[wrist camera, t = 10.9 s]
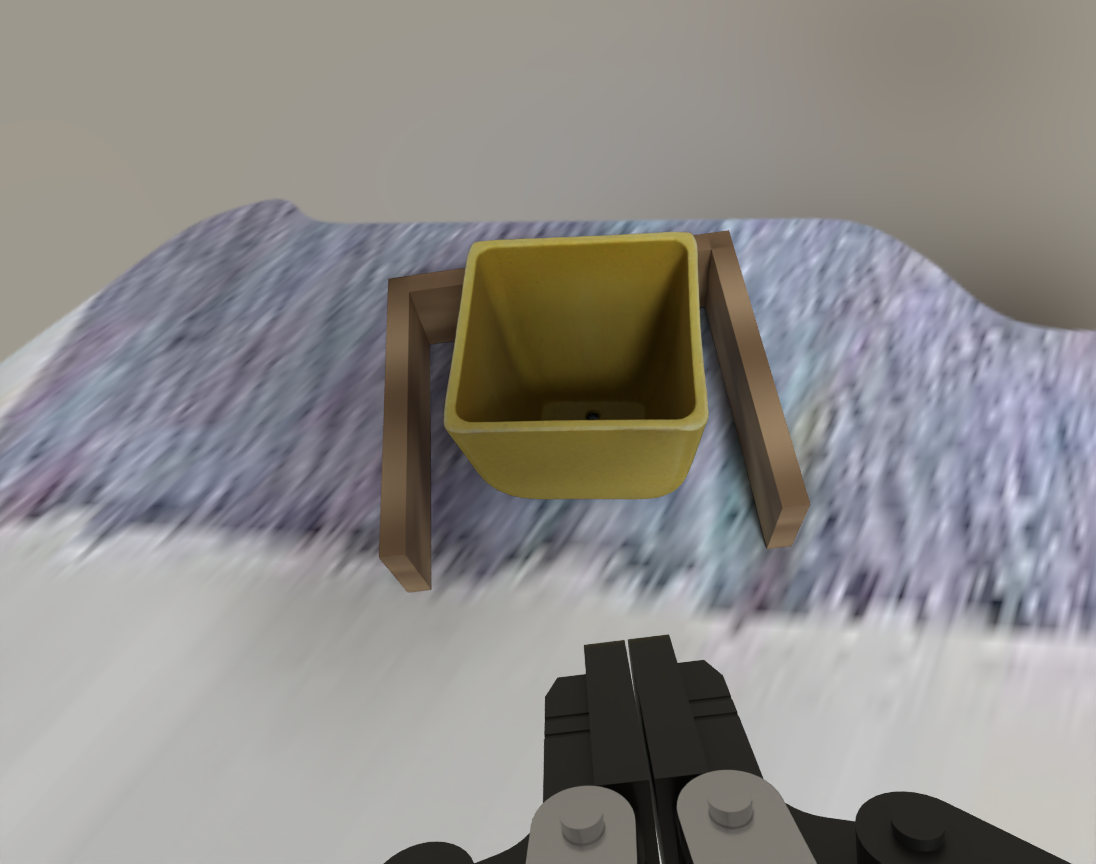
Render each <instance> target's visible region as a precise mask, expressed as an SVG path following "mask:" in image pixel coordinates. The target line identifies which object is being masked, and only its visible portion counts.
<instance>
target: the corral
mask: <svg viewBox="0 0 1096 864" xmlns="http://www.w3.org/2000/svg"><path fill="white" fill-rule="evenodd" d="M693 236H694V238H695V240H696V243H697V253H698V284H699V307H705V308H706V312H707V316H708V320H709V324H710V328H711V331H712V335H713V339H714V343H715V347H716V351H717V355H718V359H719V363H720V367H721V371H722V375H723V379H724V382H725V386H726V390H727V394H728V398H729V402H730V406H731V410H732V414H733V418H734V422H735V426H736V430H737V433H738V437H739V441H740V445H741V449H742V453H743V457H744V461H745V465H746V469H747V473H748V477H749V480H750V484H751V488H752V492H753V496H754V500H755V504H756V508H757V512H758V516H759V520H760V524H761V528H762V531H763V535H764V539H765V543H766V547H767V549H771V548H779V547H788V546H792V544H793V542H794V539H795V537H796V535H797V533H798V531H799V528H800V526H801V524H802V522H803V520H804V517H805V515H806V513H807V511H808V508H809V506H810V502H809V498H808V495H807V492H806V488H805V485H804V481H803V478H802V475H801V471H800V468H799V465H798V461H797V458H796V455H795V451H794V448H793V444H792V441H791V438H790V434H789V431H788V428H787V424H786V421H785V418H784V414H783V411H782V407H781V404H780V401H779V397H778V394H777V391H776V387H775V384H774V381H773V377H772V374H771V370H770V367H769V364H768V360H767V357H766V354H765V350H764V347H763V344H762V340H761V337H760V333H759V330H758V327H757V323H756V320H755V317H754V313H753V310H752V307H751V303H750V300H749V296H748V293H747V290H746V286H745V283H744V280H743V276H742V273H741V270H740V266H739V263H738V259H737V256H736V253H735V249H734V246H733V243H732V239H731V236H730V232H729V230H728V231H721V232H714V233H707V234H700V235H693ZM464 276H465V268H461V269H454V270H447V271H440V272H433V273H426V274H419V275H412V276H405V277H398V278H391V279H388V307H387V337H386V366H385V396H384V425H383V455H382V484H381V514H380V543H379V558H380V560H381V561H382V562H383V563H384V564H385V566H386V567H387V568H388V569H389V570H390V572H391V573H392V574H393V575H394V576H395V578H396V579H397V580H398V581H399V582H400V584H401V585H402V586H403V587H404V588H405V590H406V591H407V592H416V591H424V590H431V432H430V344H437V343H444V342H451V341H455V338H456V330H457V323H458V316H459V311H460V303H461V296H462V288H463V282H464Z"/></svg>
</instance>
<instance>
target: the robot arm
mask: <svg viewBox="0 0 1096 864" xmlns="http://www.w3.org/2000/svg"><path fill="white" fill-rule="evenodd" d="M628 647H629V655H630V663H631V671H632V679H633V685H632V679H631V674H630V668H629V663H628V657H627V651H626V646H625V641H624V640H621V641H613V642H605V643H596V644H588V645H584V653H585V667H586V674H584V675H576V676H567V677H559V678H557V679H556V681H555V682H554V684H553V685H552V687H551V689H550V690H549V692H548V693H547V695H546V696H545V731H544V735H545V739H544V782H543V804H542V805H541V806H540V807H539V809H538V810H537V811H536V813H535V815H534V817H533V819H532V823H531V829H530V833H529V834H528V835H527V836H526V837H525V838H524V839H523V840H522V841H520V842H519V843H518V844H516V845H515V846H513V847H512V848H510V849H508V850H506V851H504V852H502V853H500V854H497V855H495V856H492V857H490V858H487V859H485V860H482V861H479V862H477V863H474V862H473V860H472V858H471V857H470V855H469V854H468V853H467V852H466V851H465V850H463V849H462V848H460V847H458V846H456V845H454V844H450V843H446V842H427V843H422V844H418V845H415V846H412V847H409V848H407V849H405V850H403V851H401V852H399V853H397V854H396V855H394V856H392V857H391V858H390V859H389V860H387V861H386V862H385V863H384V864H660V861H659V853H658V845H657V838H658V844H659V850H660V856H661V861H662V864H1071V863H1069V862H1067V861H1065V860H1063V859H1061V858H1059V857H1057V856H1055V855H1052V854H1050V853H1048V852H1046V851H1044V850H1042V849H1040V848H1038V847H1036V846H1034V845H1032V844H1030V843H1028V842H1026V841H1024V840H1022V839H1020V838H1018V837H1016V836H1014V835H1012V834H1010V833H1008V832H1006V831H1004V830H1001V829H999V828H997V827H995V826H993V825H991V824H989V823H987V822H985V821H983V820H981V819H979V818H977V817H975V816H973V815H971V814H969V813H967V812H965V811H963V810H961V809H959V808H957V807H954V806H952V805H950V804H948V803H946V802H944V801H942V800H939V799H937V798H934V797H931V796H928V795H924V794H919V793H914V792H890V793H884V794H881V795H877V796H875V797H873V798H871V799H869V800H868V801H867V802H865V803H864V804H863V805H862V806H861V808H860V809H859V811H858V813H857V815H856V821H847V820H840V819H833V818H826V817H821V816H816V815H812V814H809V813H805V812H803V811H800V810H798V809H796V808H794V807H792V806H790V805H788V804H786V803H785V802H784V800H783V798H782V797H781V795H780V793H779V792H778V791H777V790H776V789H775V788H774V787H773V786H772V785H771V784H770V783H768V782H767V781H766V780H764V779H763V776H762V774H761V771H760V769H759V766H758V764H757V761H756V759H755V756H754V754H753V751H752V748H751V746H750V743H749V741H748V738H747V736H746V733H745V731H744V728H743V725H742V723H741V720H740V718H739V716H738V714H737V710H736V708H735V705H734V703H733V700H732V699H731V695H730V692H729V690H728V687H727V685H726V682H725V680H724V677H723V675H722V674H720V673H719V672H718V671H717V670H716V669H714V668H713V667H712V666H711V665H710V664H708V663H707V662H706V661H705V660H699V661H691V662H682V663H677V660H676V657H675V653H674V650H673V646H672V643H671V640H670V636H669V635H661V636H653V637H644V638H636V639H628ZM633 686H634V691H633ZM634 694H635V696H634ZM655 827H656V829H655ZM656 833H657V837H656Z"/></svg>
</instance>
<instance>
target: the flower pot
mask: <svg viewBox="0 0 1096 864" xmlns="http://www.w3.org/2000/svg"><path fill="white" fill-rule="evenodd" d="M591 413H595V414H598V416H599V419H598V420H587V416H588V415H589V414H591ZM708 416H709V414H708V401H707V390H706V382H705V373H704V362H703V351H702V341H701V330H700V310H699V284H698V253H697V243H696V240H695V238H694V236H693V234H691V233H688V232H661V233H643V234H624V235H608V236H582V237H555V238H538V239H510V240H490V241H479V242H475V243H473V244H472V246H471V248H470V250H469V252H468V256H467V262H466V268H465V276H464V282H463V288H462V296H461V303H460V311H459V316H458V323H457V330H456V338H455V344H454V351H453V357H452V363H451V371H450V376H449V381H448V387H447V393H446V401H445V409H444V426H445V428H446V430H447V431H448V433H449V434H450V436H451V437H452V438H453V440H454V441H455V442H456V444H457V445H458V446H459V448H460V449H461V451H462V452H463V453H464V455H465V456H466V457H467V459H468V460H469V461H470V463H471V464H472V465H473V467H474V468H475V469H476V471H477V472H478V473H479V475H480V476H481V477H482V478H483V479H484V480H485V481H486V482H487V483H488V484H489V485H491V486H492V487H494V488H495V489H497V490H499V491H501V492H503V493H506V494H509V495H512V496H516V497H521V498H529V499H650V498H657V497H661V496H664V495H667V494H669V493H671V492H673V491H674V490H675V489H677V488H678V487H679V486H680V485H681V484H682V483H683V481H684V480H685V478H686V476H687V474H688V472H689V470H690V467H691V464H692V462H693V459H694V456H695V454H696V451H697V448H698V445H699V443H700V440H701V437H702V434H703V431H704V428H705V426H706V423H707V420H708Z"/></svg>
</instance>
